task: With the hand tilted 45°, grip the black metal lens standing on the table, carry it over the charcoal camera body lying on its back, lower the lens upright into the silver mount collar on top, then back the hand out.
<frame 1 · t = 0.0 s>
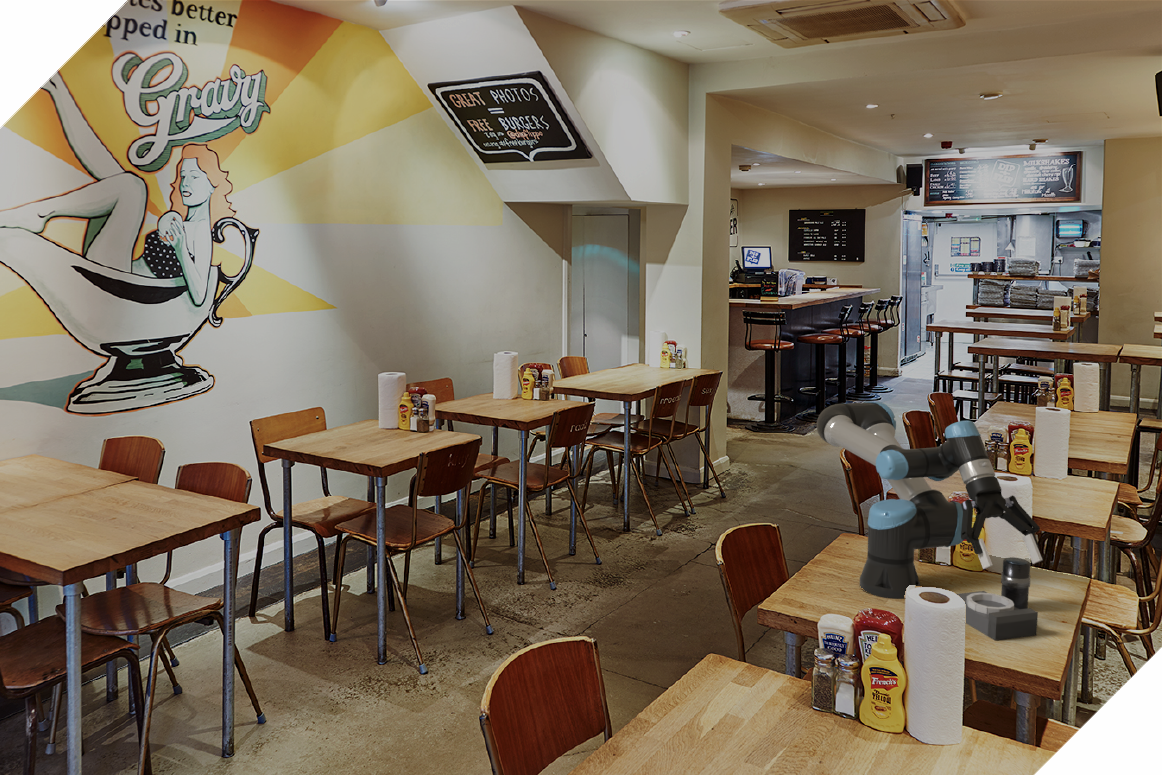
hand: (1013, 564, 200), 15 cm above the table, tool tilted 35°, fingers open, 13 cm apart
camera body: (988, 622, 204), on the table
lens: (1014, 608, 213), on the table
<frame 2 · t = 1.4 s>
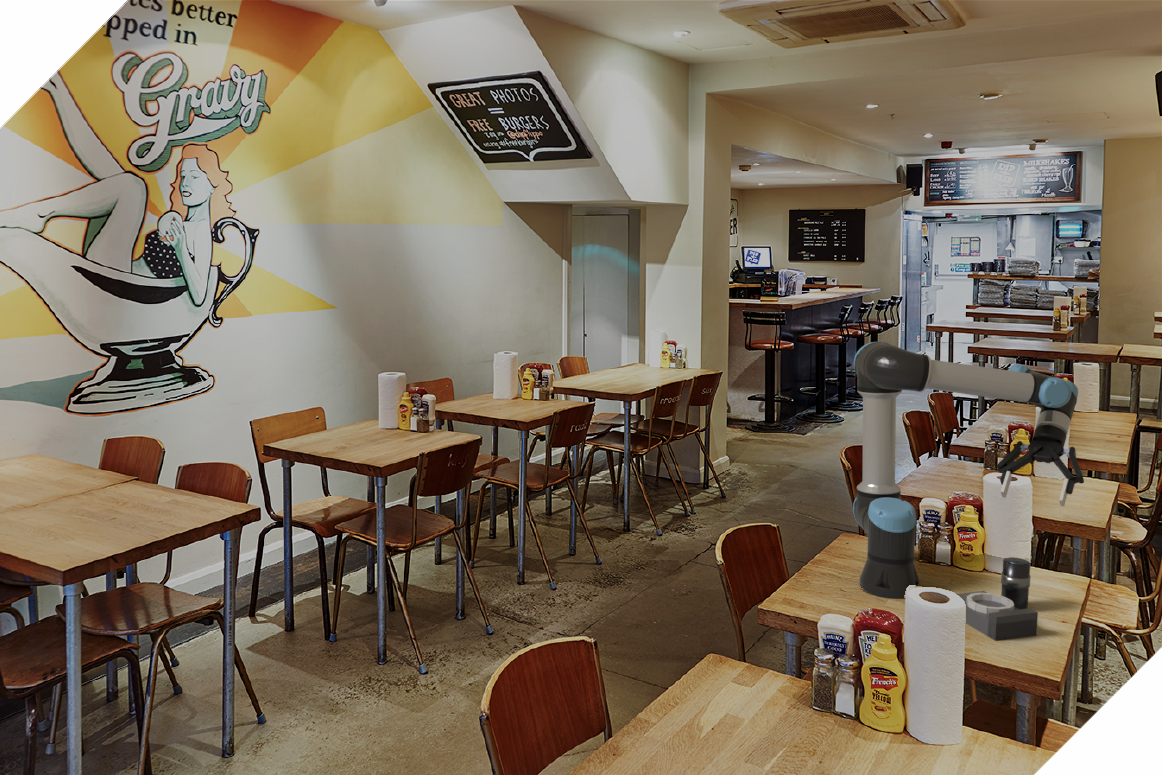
hand: (1031, 499, 216), 26 cm above the table, tool tilted 45°, fingers open, 13 cm apart
nothing on the table moved.
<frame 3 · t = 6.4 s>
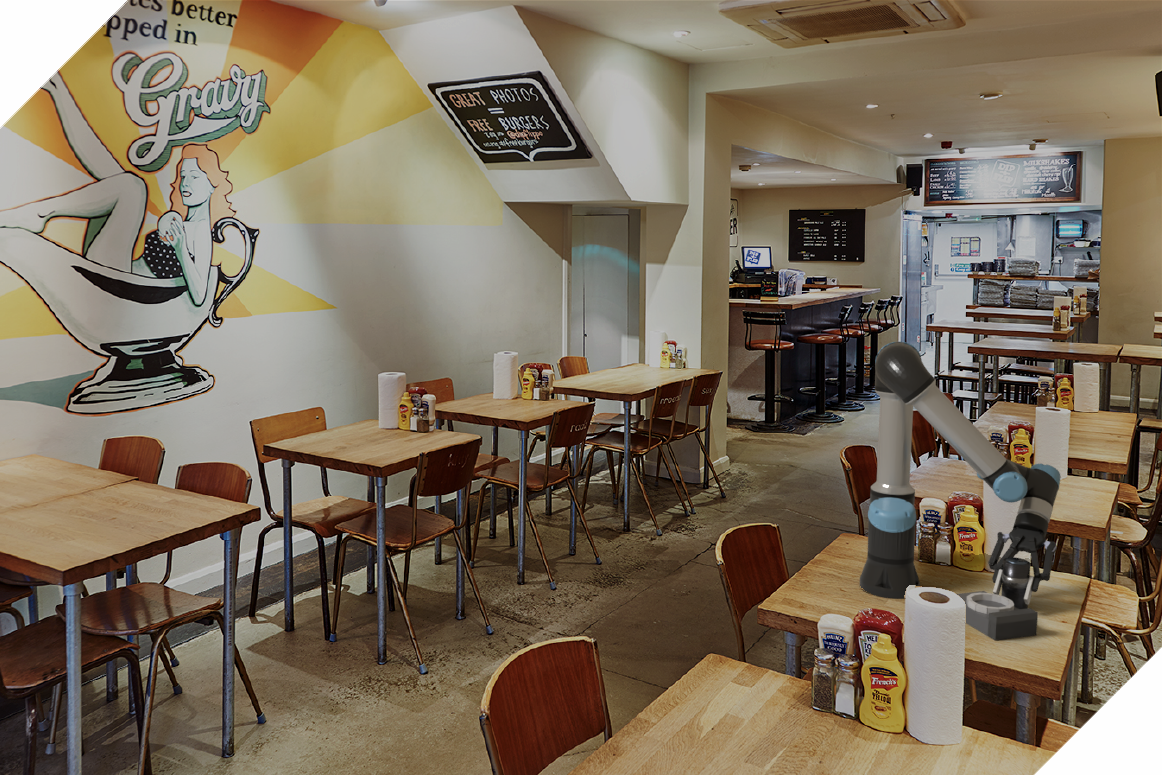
hand: (1010, 598, 209), 4 cm above the table, tool tilted 45°, fingers closed on lens, 6 cm apart
lens: (1014, 608, 213), on the table, touching gripper
when the fingers open (9 cm above the table, at t = 11.7 s): lens stays where it is, resting on camera body.
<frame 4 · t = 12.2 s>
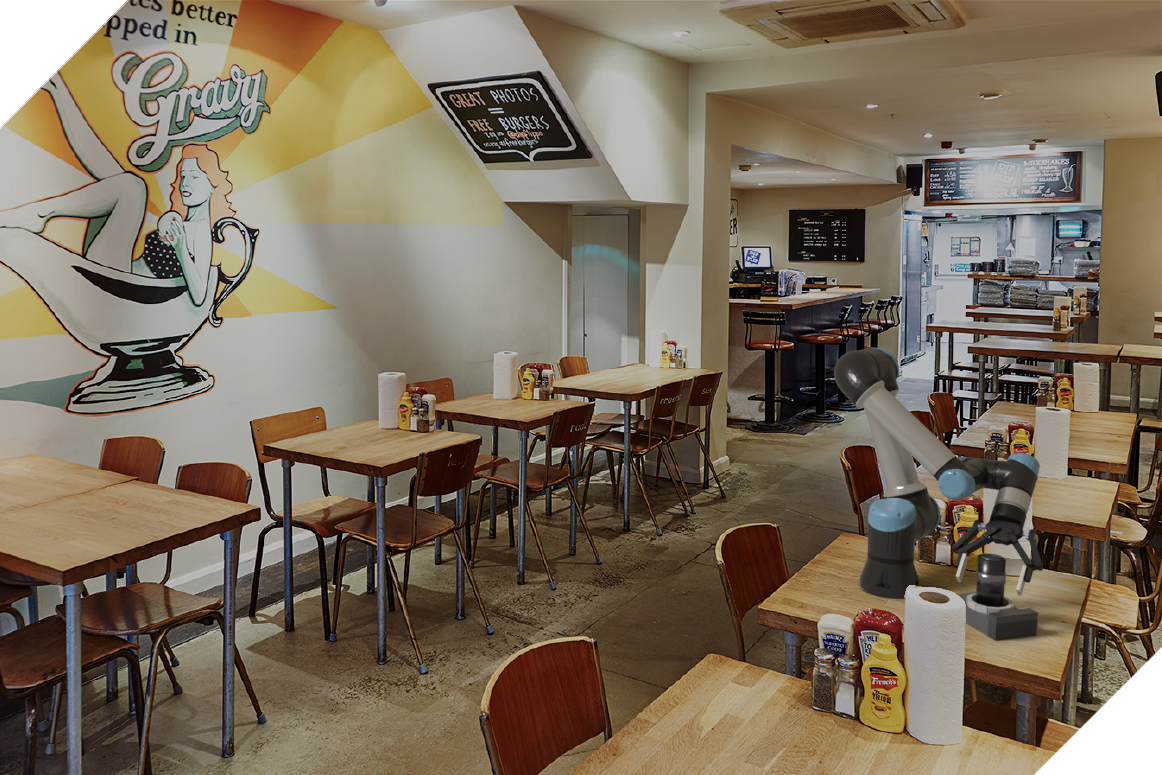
hand: (987, 586, 201), 10 cm above the table, tool tilted 45°, fingers open, 13 cm apart
lens: (989, 606, 204), point 4 cm above the table, touching camera body
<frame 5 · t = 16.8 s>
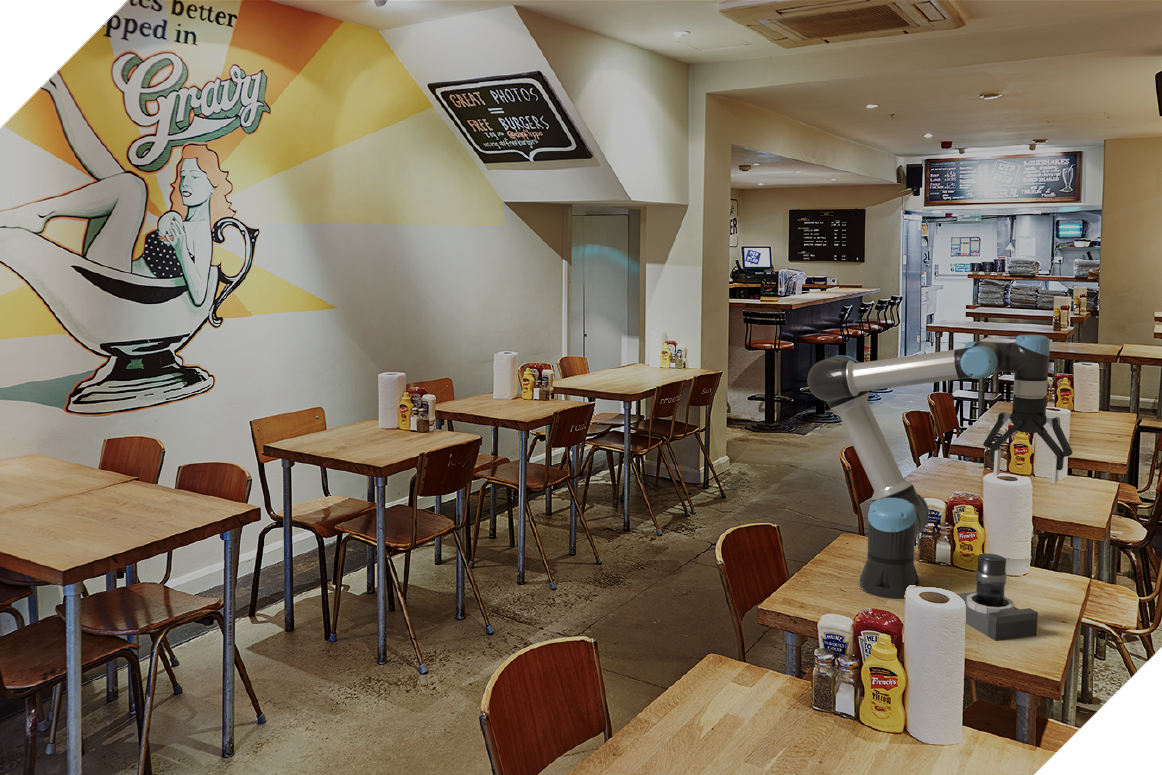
hand: (1025, 478, 218), 31 cm above the table, tool pointing down, fingers open, 13 cm apart
nothing on the table moved.
at the end: lens 0.1 cm off-centre on the camera body, point 4.0 cm above the camera body's base; lens tilted 0°; the gripper is holding nothing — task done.
